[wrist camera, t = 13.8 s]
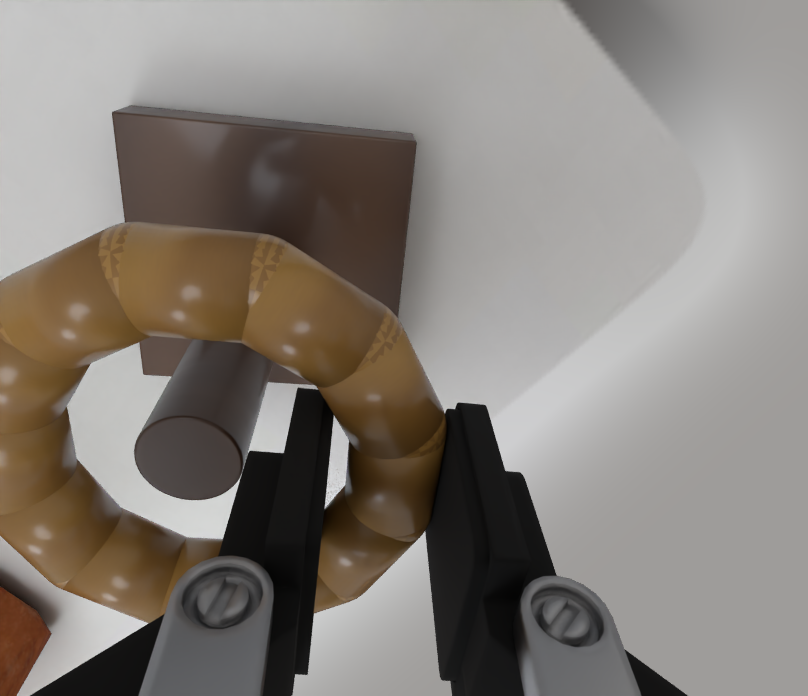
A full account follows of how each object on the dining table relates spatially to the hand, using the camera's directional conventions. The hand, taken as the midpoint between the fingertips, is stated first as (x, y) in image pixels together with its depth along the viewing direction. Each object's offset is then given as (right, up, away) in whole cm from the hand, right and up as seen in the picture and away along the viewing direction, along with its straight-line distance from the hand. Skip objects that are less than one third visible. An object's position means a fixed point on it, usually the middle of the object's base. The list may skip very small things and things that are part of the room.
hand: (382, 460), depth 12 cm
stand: (-4, +6, +9) cm, 12 cm away
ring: (-3, 0, -1) cm, 3 cm away
